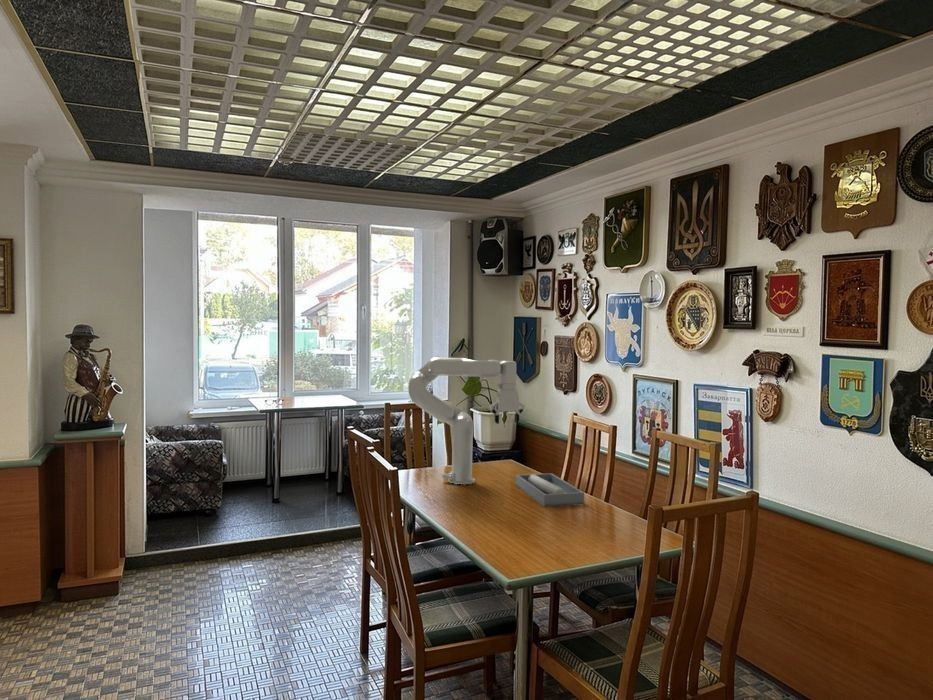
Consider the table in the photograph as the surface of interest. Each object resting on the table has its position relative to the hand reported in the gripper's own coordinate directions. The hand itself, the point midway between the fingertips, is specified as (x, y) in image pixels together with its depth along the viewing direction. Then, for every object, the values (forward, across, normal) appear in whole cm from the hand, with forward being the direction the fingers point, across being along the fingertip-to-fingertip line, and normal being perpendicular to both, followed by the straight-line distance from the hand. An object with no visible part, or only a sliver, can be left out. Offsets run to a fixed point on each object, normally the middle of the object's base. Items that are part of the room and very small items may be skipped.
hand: (506, 423), depth 292 cm
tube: (+28, +11, -23) cm, 37 cm away
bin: (+28, +12, -23) cm, 38 cm away
